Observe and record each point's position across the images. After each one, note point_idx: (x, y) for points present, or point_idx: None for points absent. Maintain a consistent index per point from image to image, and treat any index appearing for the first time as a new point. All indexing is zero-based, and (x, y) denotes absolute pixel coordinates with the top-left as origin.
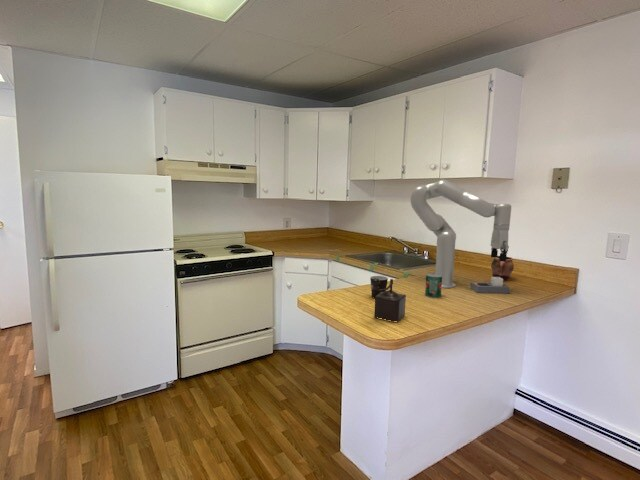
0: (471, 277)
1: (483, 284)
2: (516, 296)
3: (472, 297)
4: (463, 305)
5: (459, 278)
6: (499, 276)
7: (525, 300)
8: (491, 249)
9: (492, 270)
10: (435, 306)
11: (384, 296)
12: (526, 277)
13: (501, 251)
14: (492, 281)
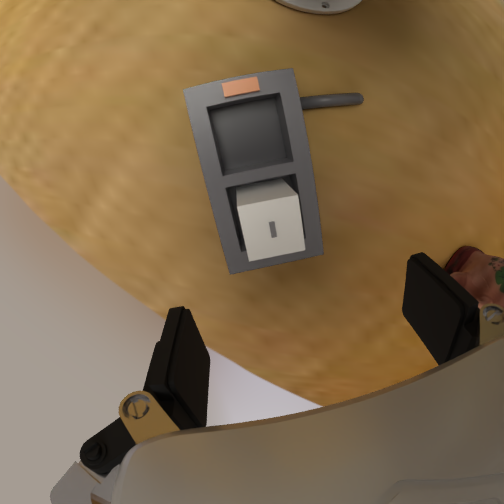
0: (479, 160)
1: (288, 142)
2: (191, 276)
3: (104, 74)
4: (11, 62)
5: (460, 95)
6: (454, 271)
7: (141, 294)
8: (491, 304)
9: (485, 255)
10: (5, 2)
11: None
12: None
13: (134, 420)
14: (268, 193)
